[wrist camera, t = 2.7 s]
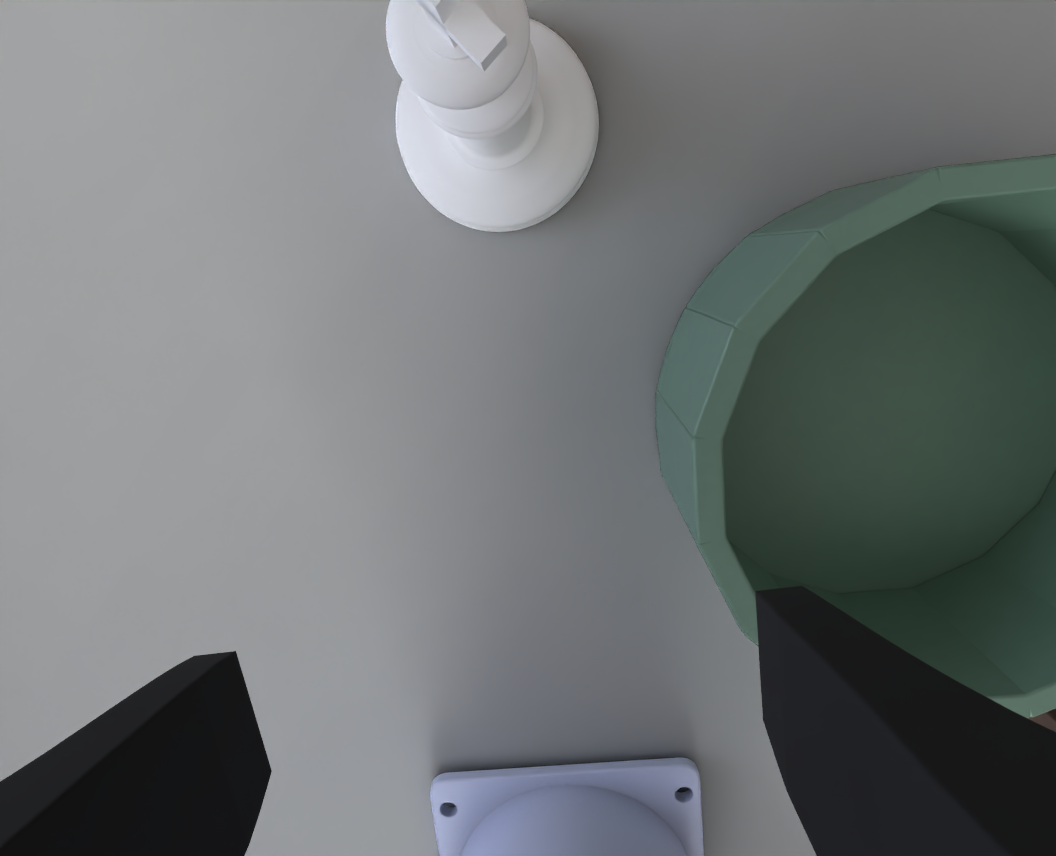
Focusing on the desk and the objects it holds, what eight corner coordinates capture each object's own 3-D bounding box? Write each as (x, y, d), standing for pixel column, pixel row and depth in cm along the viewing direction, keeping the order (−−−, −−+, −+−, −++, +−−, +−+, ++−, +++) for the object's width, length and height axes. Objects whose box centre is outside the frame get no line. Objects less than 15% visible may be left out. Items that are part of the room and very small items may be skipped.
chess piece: (494, -32, 17) (419, -411, 7) (641, 125, 18) (750, -31, 8) (356, 130, 18) (127, -17, 8) (500, 273, 19) (446, 294, 9)
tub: (1073, 587, 20) (1257, 705, 15) (667, 618, 21) (706, 741, 16) (1107, 161, 18) (1342, 123, 12) (642, 210, 18) (679, 193, 13)
